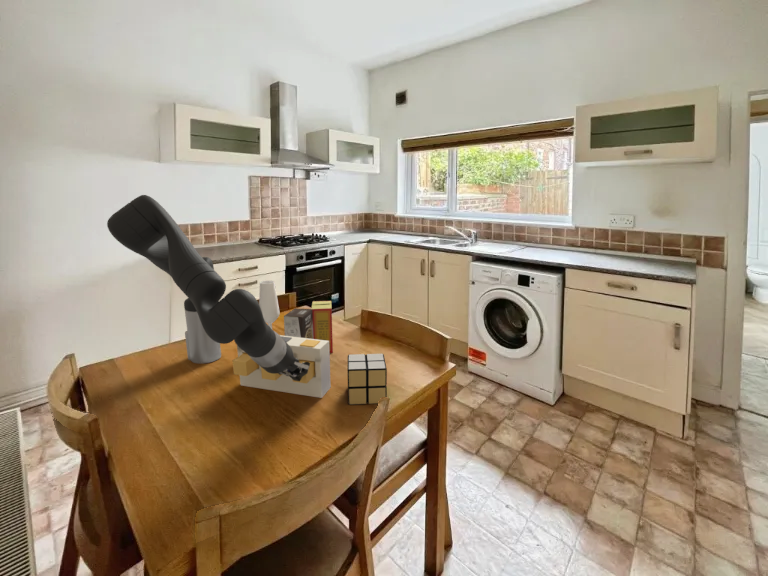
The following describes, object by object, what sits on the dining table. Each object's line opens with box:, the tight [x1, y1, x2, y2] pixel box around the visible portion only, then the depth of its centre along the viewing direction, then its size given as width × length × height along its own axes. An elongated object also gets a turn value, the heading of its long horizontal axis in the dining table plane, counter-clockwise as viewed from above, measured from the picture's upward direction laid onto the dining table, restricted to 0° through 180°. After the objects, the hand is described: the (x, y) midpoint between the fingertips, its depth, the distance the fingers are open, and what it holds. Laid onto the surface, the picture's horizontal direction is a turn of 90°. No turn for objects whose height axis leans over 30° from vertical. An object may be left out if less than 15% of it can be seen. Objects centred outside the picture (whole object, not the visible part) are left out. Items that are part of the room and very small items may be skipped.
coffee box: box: [283, 307, 314, 339], centre depth 132 cm, size 9×6×16 cm
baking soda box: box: [311, 300, 334, 354], centre depth 142 cm, size 10×6×16 cm
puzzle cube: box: [347, 353, 388, 406], centre depth 110 cm, size 10×10×10 cm
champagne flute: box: [258, 280, 280, 330], centre depth 138 cm, size 7×7×24 cm
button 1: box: [232, 352, 259, 376], centre depth 112 cm, size 4×6×4 cm
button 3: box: [293, 360, 316, 384], centre depth 108 cm, size 4×6×4 cm
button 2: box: [261, 367, 283, 381], centre depth 109 cm, size 4×6×4 cm
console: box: [236, 334, 331, 399], centre depth 114 cm, size 25×6×14 cm, turn 74°
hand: (298, 377), depth 105 cm, fingers closed
